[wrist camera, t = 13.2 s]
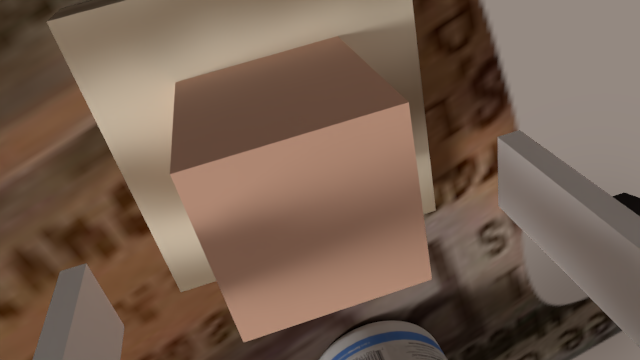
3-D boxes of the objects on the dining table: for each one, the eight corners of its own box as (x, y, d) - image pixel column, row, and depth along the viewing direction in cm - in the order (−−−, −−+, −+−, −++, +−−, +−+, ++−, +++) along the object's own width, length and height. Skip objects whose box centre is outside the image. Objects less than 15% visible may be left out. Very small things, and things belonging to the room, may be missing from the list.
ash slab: (63, 6, 21) (46, 21, 19) (379, -78, 22) (403, -75, 20) (181, 256, 28) (180, 292, 26) (414, 183, 30) (435, 210, 27)
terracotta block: (227, 217, 24) (243, 342, 18) (175, 82, 21) (169, 174, 14) (365, 174, 25) (431, 279, 18) (337, 36, 21) (408, 102, 14)
